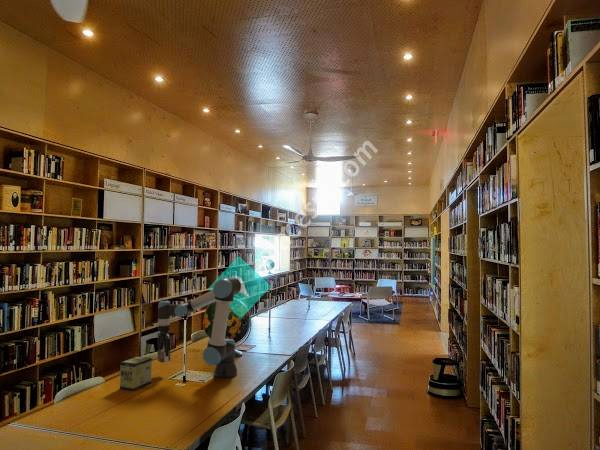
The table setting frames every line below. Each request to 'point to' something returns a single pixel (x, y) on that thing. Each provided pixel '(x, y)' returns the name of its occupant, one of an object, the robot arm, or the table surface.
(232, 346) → the robot arm
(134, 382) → the protein box
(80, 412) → the table surface
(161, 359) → the walnut block
